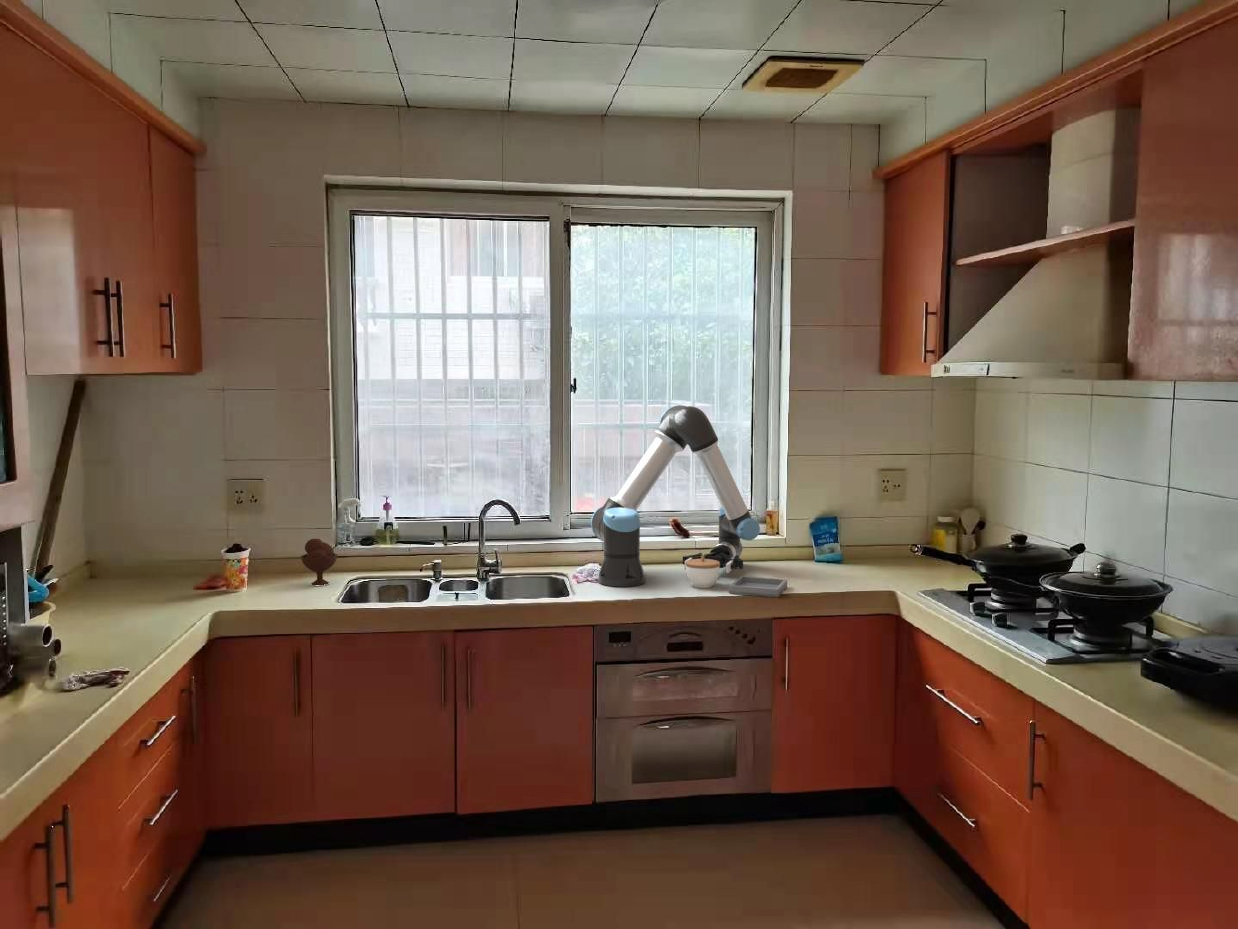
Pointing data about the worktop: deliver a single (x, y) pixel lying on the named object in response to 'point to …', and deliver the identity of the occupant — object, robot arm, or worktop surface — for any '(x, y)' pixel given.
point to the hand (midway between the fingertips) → (706, 567)
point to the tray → (758, 586)
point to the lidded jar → (702, 572)
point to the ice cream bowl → (318, 558)
